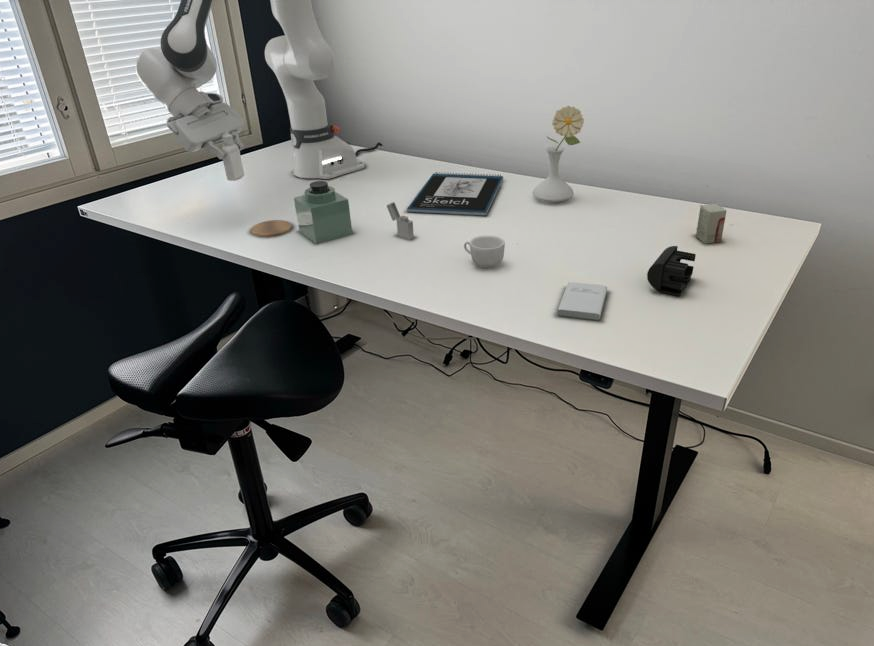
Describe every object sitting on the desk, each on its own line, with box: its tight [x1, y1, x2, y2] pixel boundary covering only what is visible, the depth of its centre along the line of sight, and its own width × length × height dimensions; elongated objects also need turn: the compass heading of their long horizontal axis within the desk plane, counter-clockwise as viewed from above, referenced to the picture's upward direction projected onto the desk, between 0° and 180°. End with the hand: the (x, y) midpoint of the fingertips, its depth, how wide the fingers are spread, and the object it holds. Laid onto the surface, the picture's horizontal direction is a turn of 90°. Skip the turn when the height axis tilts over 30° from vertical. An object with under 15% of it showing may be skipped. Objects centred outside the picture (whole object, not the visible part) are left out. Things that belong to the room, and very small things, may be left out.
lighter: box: [386, 201, 415, 240], centre depth 166 cm, size 7×2×8 cm, turn 51°
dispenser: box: [293, 185, 353, 244], centre depth 169 cm, size 10×10×11 cm
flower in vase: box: [532, 105, 585, 203], centre depth 181 cm, size 13×11×25 cm
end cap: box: [646, 245, 697, 297], centre depth 140 cm, size 10×7×7 cm
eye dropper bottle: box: [221, 130, 245, 182], centre depth 170 cm, size 4×6×12 cm
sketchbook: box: [406, 171, 504, 217], centre depth 192 cm, size 22×30×2 cm
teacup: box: [463, 235, 506, 269], centre depth 152 cm, size 10×8×5 cm
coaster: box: [251, 219, 292, 238], centre depth 174 cm, size 10×10×1 cm
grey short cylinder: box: [309, 180, 329, 194], centre depth 165 cm, size 4×4×2 cm
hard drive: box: [557, 281, 608, 321], centre depth 136 cm, size 2×8×12 cm
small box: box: [695, 203, 728, 244], centre depth 159 cm, size 5×4×8 cm
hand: (232, 152), depth 169 cm, fingers closed on eye dropper bottle, 5 cm apart
